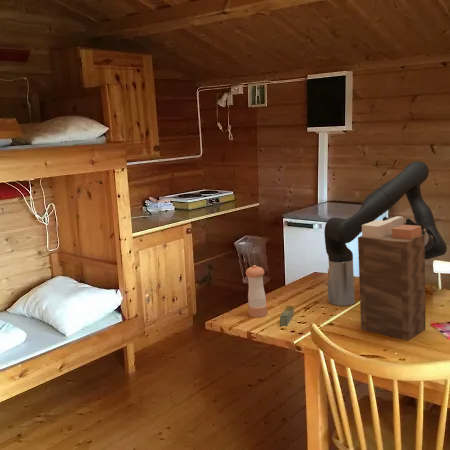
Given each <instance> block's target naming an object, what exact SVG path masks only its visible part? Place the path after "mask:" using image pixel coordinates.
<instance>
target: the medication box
mask: <svg viewBox="0 0 450 450" xmlns="http://www.w3.org/2000/svg"><path fill="white" fill-rule="evenodd" d="M294 313H295V310H294V305H285V308H284V310H283V311H282V313H281V314H280V317H279V326H280V327H282V326H286V327H288V325H289V324H290V322H291V321H292V318H293V317H294ZM286 327H285V328H286Z"/></svg>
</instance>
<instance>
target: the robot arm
mask: <svg viewBox="0 0 450 450" xmlns="http://www.w3.org/2000/svg"><path fill="white" fill-rule="evenodd" d="M429 172H430V171H429V167H428V165H427V164H426V163H424V162H423V161H419V160H415V161H412V162H410V163H408V164H407V166H405V167H404V169H402V171H400V173H398V174H397V175H396V176H395V177H393V178H392V179H390V180H389V181H388V180H387V182H385V183H383V184H382V185H380V186H379V187H377V188H376V189H375V190H373V191H372V192H370V194H368V195H367V196H366V197H365V198H364V199H363V201H362V204H361V206H360V209H359V210H358V211H357V212H355V213H354V214H353V215H351V216H350V217H348V218H341V217H331V218H330V219H328V220H327V221H326V223H325V225H324V232H323V233H324V242H325V243H324V245H325V252H326V254H327V257H328V268H329V279H328V278H327V281H326V282H327V299H328V303H329V304H332V305H333V306H339V307H341V306H345V307H346V306H351V305H353V304H355V303H356V301H355V280H354V279H355V278H354V276H355V275H354V253H353V251H352V250H351V249H349V248H348V245H347V244H349V243H351V242H352V241H354V240H355V239H356V238H358V237H359V235H360V234H362V225H364V224H366V223H369V222H372V221H375V220H378V218H379V217H381V216H382V215H384V214H385V213H387V211H389V210H390V209H391V208H392V207H393V206H395V205H396V204H397V203H398V201H400V200H401V198H403V196H404V195H405V196H406V198H407V201H408V203H409V205H410V207H411V211H412V214H413V217H414V221H413V220H412V219H410V218H409V217H407V218H406V220H405V222H403V224H402V225H415V226H421V234H422V235H424V241H425V260H431V259H433V258H434V259H435V258H437V257H442V256H444V255H446V253H447V250H448V247H447V243H446V242H445V240H444V239H443V238H442V236H441V234H440V232H439V231H438V230H439V229H438V228H437V225H436V220H435V217H434V215H433V211H432V209H431V208H430V207H429V205H428V204H427V203H426V201H425V200H424V198H423V196H422V192H421V186H422V185H423V184H424V183H425V182H426V180H427V179H428V177H429V174H430V173H429ZM388 219H389V218H388V217H387V216H383V217H382V220H381V221H385V220H388ZM394 228H395V227H394Z"/></svg>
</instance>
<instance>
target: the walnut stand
mask: <svg viewBox="0 0 450 450" xmlns="http://www.w3.org/2000/svg"><path fill="white" fill-rule="evenodd" d="M357 248H358V249H357V250H358V274H359V277H358V278H359V281H358V283H359V306H360V307H359V308H360V330H362V331H365V332H370V333H374V334H379V335H383V336H386V337H392V338H395V339H399V340H403V341H408V342H409V341H410V340H412V339H413V338H415V337H416V336H417V335H419V334H420V333H422V332H423V331H425V330H426V328H427V327H426V324H427V323H426V262H425V261H426V259H425V241H424V235H421V236H418V237H416V238H414V239H412V240H410V239H400V238H392V234H389V235H387V236H384V237H382V238H380V239H376V238H366V237H362V235H360V236H357Z"/></svg>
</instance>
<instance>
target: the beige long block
mask: <svg viewBox="0 0 450 450" xmlns="http://www.w3.org/2000/svg"><path fill="white" fill-rule="evenodd" d="M403 223H404V216H401V215H400V216H398V215H397V216H394V217H391V218H388V220H385V221H382V220H378V219H376V220H374V221H372V222H369V223H366V224H364V225H362V232H361V236H362V237H366V238H376V239H380V238H382V237H384V236H387V235H389V234H392V228H394V227H397V226H400V225H402V224H403Z"/></svg>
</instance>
